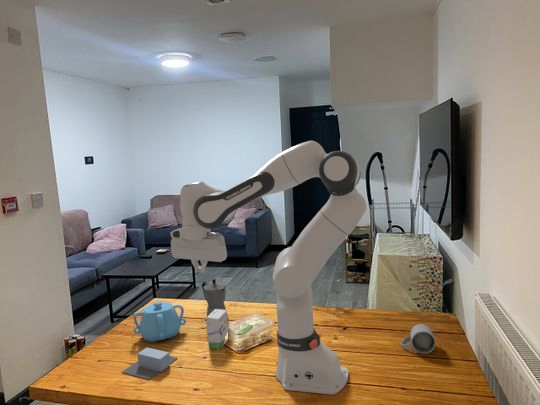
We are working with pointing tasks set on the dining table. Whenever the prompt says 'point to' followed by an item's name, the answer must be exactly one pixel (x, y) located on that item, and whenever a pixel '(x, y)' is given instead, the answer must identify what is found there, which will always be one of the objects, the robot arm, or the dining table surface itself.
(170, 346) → the dining table surface
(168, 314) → the decorative pot
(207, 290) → the coffeepot
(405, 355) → the dining table surface
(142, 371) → the mat
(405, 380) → the dining table surface
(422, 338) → the ceramic mug
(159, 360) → the block
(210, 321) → the ink box
